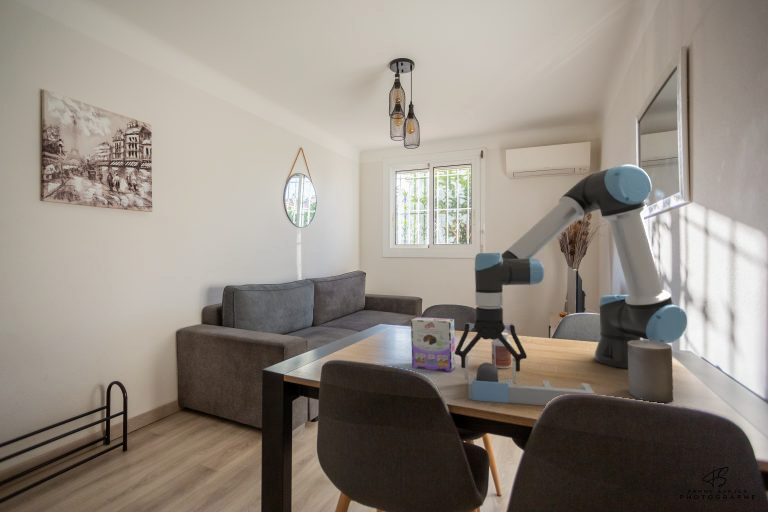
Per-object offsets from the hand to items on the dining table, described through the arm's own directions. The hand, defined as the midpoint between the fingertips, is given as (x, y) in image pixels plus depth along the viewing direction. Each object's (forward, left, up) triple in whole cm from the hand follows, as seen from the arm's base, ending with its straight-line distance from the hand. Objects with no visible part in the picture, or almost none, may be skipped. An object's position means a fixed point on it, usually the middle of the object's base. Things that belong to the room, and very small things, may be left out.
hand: (490, 380), depth 109 cm
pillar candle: (-41, -2, -2) cm, 41 cm away
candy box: (+18, -14, -2) cm, 23 cm away
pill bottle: (-4, -20, -2) cm, 20 cm away
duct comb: (-10, +8, -2) cm, 12 cm away
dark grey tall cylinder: (0, +3, -2) cm, 3 cm away
